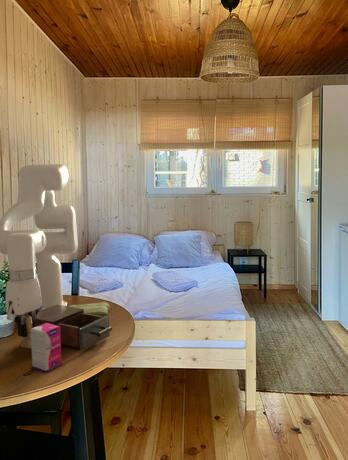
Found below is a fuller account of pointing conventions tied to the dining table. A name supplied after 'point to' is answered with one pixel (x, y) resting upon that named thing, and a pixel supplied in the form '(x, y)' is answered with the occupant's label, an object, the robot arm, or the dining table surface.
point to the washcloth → (94, 308)
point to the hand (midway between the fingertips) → (26, 334)
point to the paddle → (27, 340)
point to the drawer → (84, 330)
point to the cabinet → (56, 314)
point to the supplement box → (46, 347)
